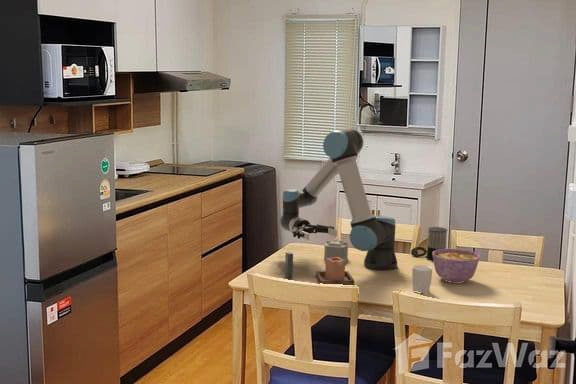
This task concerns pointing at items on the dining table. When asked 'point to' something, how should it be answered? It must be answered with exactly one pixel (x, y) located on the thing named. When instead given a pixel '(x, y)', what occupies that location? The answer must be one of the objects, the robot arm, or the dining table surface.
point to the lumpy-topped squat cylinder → (336, 249)
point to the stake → (289, 265)
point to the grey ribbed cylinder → (433, 242)
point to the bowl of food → (455, 264)
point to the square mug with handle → (335, 269)
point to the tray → (321, 279)
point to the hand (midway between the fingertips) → (322, 235)
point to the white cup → (421, 278)
